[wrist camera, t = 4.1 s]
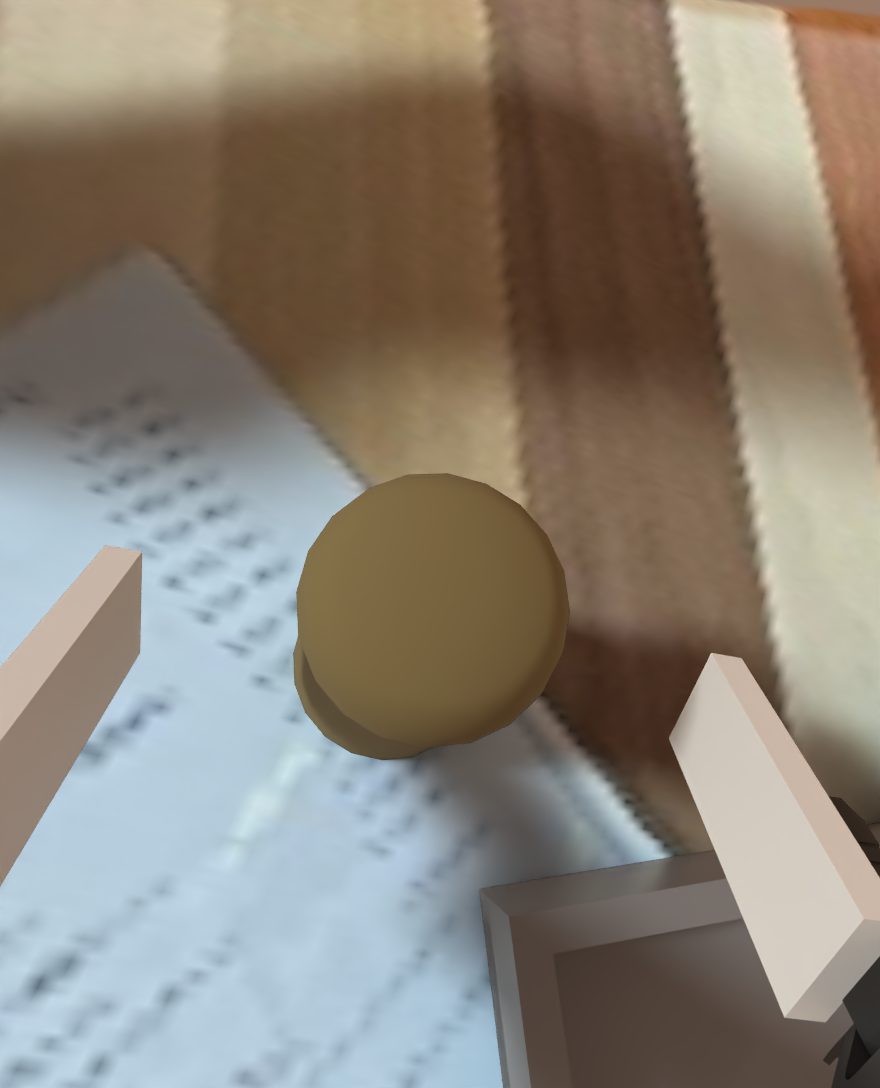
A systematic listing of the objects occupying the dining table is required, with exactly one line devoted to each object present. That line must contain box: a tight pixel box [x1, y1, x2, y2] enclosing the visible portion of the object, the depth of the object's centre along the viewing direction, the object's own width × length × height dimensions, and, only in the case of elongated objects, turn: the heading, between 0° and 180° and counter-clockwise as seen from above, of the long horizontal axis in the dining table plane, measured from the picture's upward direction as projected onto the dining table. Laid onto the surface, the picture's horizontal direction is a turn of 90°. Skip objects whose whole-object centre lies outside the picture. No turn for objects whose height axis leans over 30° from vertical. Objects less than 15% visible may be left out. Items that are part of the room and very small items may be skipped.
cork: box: [293, 473, 570, 760], centre depth 17 cm, size 6×6×11 cm
